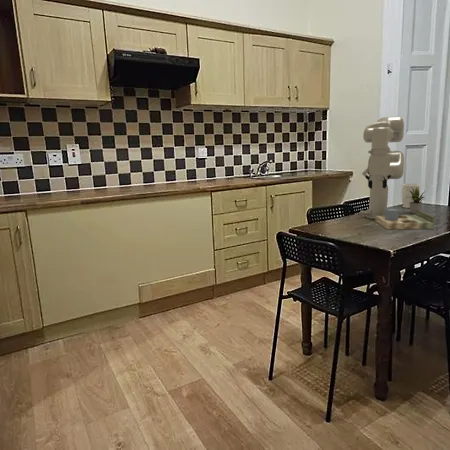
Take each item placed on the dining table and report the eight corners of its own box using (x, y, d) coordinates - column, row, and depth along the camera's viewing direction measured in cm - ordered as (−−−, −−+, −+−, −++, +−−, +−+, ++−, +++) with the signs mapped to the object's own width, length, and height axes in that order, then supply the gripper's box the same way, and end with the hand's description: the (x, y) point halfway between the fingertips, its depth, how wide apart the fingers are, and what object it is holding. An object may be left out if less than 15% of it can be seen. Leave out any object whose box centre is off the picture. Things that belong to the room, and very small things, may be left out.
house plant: (395, 211, 230) (397, 184, 227) (417, 210, 231) (419, 183, 228) (409, 215, 216) (411, 187, 213) (431, 214, 217) (434, 186, 214)
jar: (403, 208, 238) (404, 185, 235) (398, 205, 248) (400, 183, 244) (420, 208, 236) (422, 185, 233) (415, 205, 246) (417, 183, 243)
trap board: (387, 229, 184) (388, 217, 183) (375, 221, 204) (376, 210, 202) (433, 228, 182) (434, 216, 181) (417, 220, 201) (418, 209, 200)
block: (387, 220, 191) (388, 210, 189) (384, 218, 195) (385, 209, 194) (398, 220, 190) (398, 210, 189) (394, 218, 195) (395, 208, 194)
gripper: (363, 153, 184) (361, 189, 187) (399, 152, 182) (397, 188, 186) (359, 152, 191) (358, 187, 195) (394, 151, 189) (392, 187, 193)
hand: (377, 187), depth 190 cm, fingers open, 6 cm apart
